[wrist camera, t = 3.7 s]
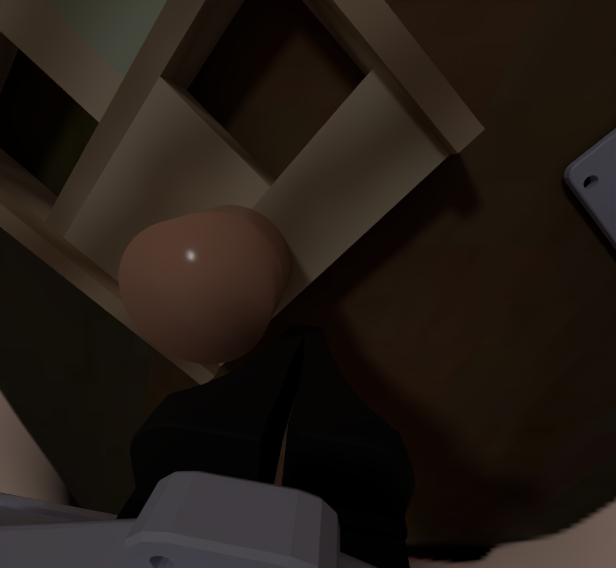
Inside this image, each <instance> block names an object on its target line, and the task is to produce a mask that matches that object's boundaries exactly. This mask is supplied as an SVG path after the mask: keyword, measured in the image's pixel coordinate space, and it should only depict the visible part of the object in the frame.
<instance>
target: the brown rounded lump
mask: <svg viewBox="0 0 616 568" xmlns="http://www.w3.org/2000/svg"><path fill="white" fill-rule="evenodd" d="M290 273H291V257H290V252H289V249H288V246H287V243H286V241H285V239H284V237H283V235H282V234H281V233H280V231H279V230H278V228H277V227H276V226H275V225H274V224H273V223H272V222H271V221H270V220H269V219H267V218H266V217H265V216H263V215H262V214H260V213H259V212H257V211H255V210H252V209H250V208H247V207H243V206H238V205H221V206H217V207H213V208H209V209H206V210H202V211H199V212H195V213H192V214H188V215H185V216H181V217H178V218H174V219H171V220H167V221H163V222H160V223H157V224H155V225H152V226H150V227H148V228H146V229H145V230H143V231H141V232H140V233H139V234H138V235H137V236H136V237H134V239H133V240H132V241H131V242H130V243H129V245H128V246H127V248H126V250H125V252H124V254H123V256H122V259H121V263H120V267H119V278H118V279H119V289H120V294H121V298H122V301H123V304H124V307H125V309H126V311H127V313H128V315H129V317H130V318H131V320H132V322H133V323H134V324H135V326H136V327H137V328H138V330H139V331H140V332H141V333H142V334H143V335H144V336H145V337H146V338H147V339H148V340H149V341H150V342H151V343H153V344H154V345H155V346H157V347H158V348H159V349H161V350H163V351H164V352H166V353H168V354H169V355H172V356H174V357H176V358H179V359H181V360H184V361H188V362H192V363H198V364H220V363H225V362H229V361H232V360H235V359H237V358H240V357H241V356H243V355H245V354H246V353H248V352H249V351H250V350H251V349H253V348H254V347H255V345H256V344H257V343H258V342H259V341H260V339H261V338H262V336H263V334H264V332H265V330H266V328H267V326H268V324H269V322H270V320H271V318H272V316H273V314H274V312H275V309H276V307H277V305H278V303H279V301H280V299H281V297H282V295H283V293H284V291H285V289H286V286H287V284H288V281H289V278H290Z"/></svg>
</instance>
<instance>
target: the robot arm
mask: <svg viewBox="0 0 616 568" xmlns="http://www.w3.org/2000/svg"><path fill="white" fill-rule="evenodd" d="M587 177H590V179H591V181H590V184H589V185H588V186H587V187H585V188H584V185H583V183H584V180H585V179H586V178H587ZM564 180H565V182H566V184H567V185H568V186H569V188H570V189H571V190H572V192H573V193H574V194H575V196H576V197H577V198H578V200H579V201H580V202H581V204H582V205H583V206H584V208H585V209H586V210H587V212H588V213H589V214H590V216H591V217H592V218H593V220H594V221H595V222H596V224H597V225H598V226H599V228H600V229H601V231H602V232H603V233H604V235H605V236H606V237H607V239H608V240H609V241H610V243H611V244H612V245H613V247H614V248H615V249H616V129H614V130H613V131H612V132H610V133H609V134H608V135H607V136H605V137H604V138H603V139H602V140H600V141H599V142H598V143H596V144H595V145H594V146H593V147H591V148H590V149H589V150H588V151H586V152H585V153H584V154H582V155H581V156H580V157H579V158H577V159H576V160H575V161H573V162H572V163H571V164H570V165H569V166H568V167H567V168H566V170H565V172H564ZM296 393H297V394H296ZM295 397H296V398H295ZM294 400H295V402H294ZM293 403H294V405H293ZM292 407H293V409H292ZM291 410H292V412H291ZM290 413H291V416H290ZM289 416H290V419H289ZM288 420H289V422H288ZM287 423H288V431H287V440H286V450H285V459H284V468H283V478H282V485H281V486H280V485H274V481H275V476H276V471H277V466H278V461H279V456H280V451H281V446H282V441H283V437H284V433H285V430H286V426H287ZM130 456H131V462H132V468H133V474H134V479H135V485H136V488H135V490H134V492H133V493H132V495H131V496H130V498H129V499H128V501H127V502H126V504H125V505H124V507H123V508H122V510H121V512H120V513H119V515H113V514H108V513H102V512H97V511H92V510H87V509H82V508H77V507H72V506H66V505H61V504H56V503H51V502H46V501H40V500H36V499H31V498H25V497H20V496H15V495H10V494H5V493H0V568H410V567H409V560H408V555H407V549H406V543H405V539H406V538H407V527H406V521H405V514H406V511H407V509H408V506H409V503H410V500H411V498H412V495H413V492H414V487H415V478H414V473H413V468H412V464H411V461H410V458H409V455H408V453H407V450H406V447H405V445H404V443H403V440H402V438H401V435H400V433H399V432H398V431H397V430H395V429H394V428H393V427H391V426H390V425H389V424H388V423H386V422H385V421H384V420H383V419H381V418H380V417H379V416H378V415H377V414H375V413H374V412H373V411H372V410H371V409H370V408H369V407H368V406H367V405H366V404H365V403H364V402H363V401H362V400H361V399H360V398H359V397H358V395H357V394H356V393H355V392H354V391H353V390H352V388H351V387H350V386H349V384H348V383H347V382H346V380H345V379H344V377H343V376H342V374H341V372H340V371H339V369H338V367H337V365H336V364H335V362H334V360H333V358H332V355H331V353H330V351H329V349H328V346H327V343H326V340H325V337H324V332H323V330H322V328H319V327H312V326H305V325H298V324H292V325H291V326H290V327H289V328H288V329H287V330H286V331H285V332H284V333H283V334H282V335H281V336H280V337H279V338H278V339H277V340H276V341H275V342H274V343H273V344H272V345H271V346H270V347H268V348H267V349H266V350H265V351H263V352H262V353H261V354H260V355H258V356H257V357H256V358H254V359H253V360H251V361H250V362H248V363H247V364H245V365H243V366H242V367H240V368H238V369H236V370H234V371H232V372H230V373H228V374H226V375H224V376H222V377H219V378H217V379H215V380H212V381H210V382H207V383H204V384H202V385H199V386H196V387H192V388H189V389H186V390H182V391H179V392H175V393H171V394H168V395H167V397H166V398H165V399H164V400H163V401H162V402H161V403H160V404H159V405H158V406H157V407H156V408H155V410H154V411H153V412H152V413H151V414H150V416H149V417H148V418H147V420H146V421H145V422H144V423H143V425H142V426H141V427H140V428H139V430H138V431H137V432H136V434H135V435H134V436H133V439H132V441H131V444H130Z"/></svg>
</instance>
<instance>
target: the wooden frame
mask: <svg viewBox="0 0 616 568" xmlns="http://www.w3.org/2000/svg"><path fill="white" fill-rule="evenodd" d="M244 1H245V0H0V94H1V91H2V89H3V86H4V84H5V82H6V79H7V77H8V74H9V72H10V69H11V67H12V64H13V62H14V59H15V57H16V54H17V52H18V49H20V50H21V51H22V52H23V53H24V54H26V55H27V56H28V57H29V58H30V59H31V60H32V61H33V62H34V63H35V64H36V65H37V66H39V67H40V68H41V69H42V70H43V71H44V72H45V73H46V74H47V75H48V76H49V77H51V78H52V79H53V80H54V81H55V82H56V83H57V84H58V85H59V86H60V87H61V88H62V89H64V90H65V91H66V92H67V93H68V94H69V95H70V96H71V97H72V98H73V99H74V100H75V101H77V102H78V103H79V104H80V105H81V106H82V107H83V108H84V109H85V110H86V111H87V112H88V113H90V114H91V115H92V116H93V117H94V118H95V119H96V120H97V121H98V122H99V124H98V126H97V128H96V130H95V132H94V133H93V135H92V137H91V139H90V141H89V142H88V144H87V146H86V148H85V150H84V151H83V153H82V155H81V157H80V159H79V160H78V162H77V164H76V166H75V168H74V170H73V171H72V173H71V175H70V177H69V179H68V180H67V182H66V184H65V186H64V188H63V189H62V191H61V193H60V195H59V197H58V196H57V195H56V194H55V193H53V192H52V191H51V190H50V189H49V188H47V187H46V186H45V185H44V184H43V183H41V182H40V181H39V180H38V179H37V178H36V177H34V176H33V175H32V174H31V173H30V172H28V171H27V170H26V169H25V168H24V167H23V166H21V165H20V164H19V163H18V162H17V161H15V160H14V159H13V158H12V157H11V156H9V155H8V154H7V153H6V152H5V151H4V150H2V149H1V148H0V227H1V228H3V229H4V230H5V231H6V232H8V233H9V234H10V235H11V236H13V237H14V238H15V239H17V240H18V241H19V242H20V243H22V244H23V245H24V246H25V247H27V248H28V249H29V250H30V251H32V252H33V253H34V254H36V255H37V256H38V257H39V258H41V259H42V260H43V261H44V262H46V263H47V264H48V265H50V266H51V267H52V268H53V269H55V270H56V271H57V272H58V273H60V274H61V275H62V276H63V277H65V278H66V279H67V280H69V281H70V282H71V283H72V284H74V285H75V286H76V287H77V288H79V289H80V290H81V291H82V292H84V293H85V294H86V295H88V296H89V297H90V298H91V299H93V300H94V301H95V302H96V303H98V304H99V305H100V306H102V307H103V308H104V309H105V310H107V311H108V312H109V313H110V314H112V315H113V316H114V317H115V318H117V319H118V320H119V321H121V322H122V323H123V324H124V325H126V326H127V327H128V328H129V329H131V330H132V331H133V332H134V333H136V334H137V335H138V336H140V337H141V338H142V339H143V340H145V341H146V342H147V343H148V344H150V345H151V346H152V347H154V348H155V349H156V350H157V351H159V352H160V353H161V354H162V355H164V356H165V357H166V358H167V359H169V360H170V361H171V362H173V363H174V364H175V365H176V366H178V367H179V368H180V369H181V370H183V371H184V372H185V373H186V374H188V375H189V376H190V377H192V378H193V379H194V380H195V381H197V382H198V383H199V384H200V385H202V384H204V383H207V382H209V381H210V380H211V379H212V378H213V377H214V376H215V375H216V373H217V371H218V370H219V368H220V367H221V365H223V364H224V363H220V364H198V363H192V362H188V361H184V360H181V359H179V358H176V357H174V356H172V355H169V354H168V353H166V352H164V351H163V350H161V349H159V348H158V347H157V346H155V345H154V344H153V343H151V342H150V341H149V340H148V339H147V338H146V337H145V336H144V335H143V334H142V333H141V332H140V331H139V330H138V328H137V327H136V326H135V324H134V323H133V322H132V320H131V318H130V317H129V315H128V313H127V311H126V309H125V307H124V304H123V301H122V298H121V294H120V289H119V279H118V278H119V267H120V263H121V259H122V256H123V254H124V252H125V250H126V248H127V246H128V245H129V243H130V242H131V241H132V240H133V239H134V237H136V236H137V235H138V234H139V233H140V232H141V231H143V230H145V229H146V228H148V227H150V226H152V225H155V224H157V223H160V222H163V221H167V220H171V219H174V218H178V217H181V216H185V215H188V214H192V213H195V212H199V211H202V210H206V209H209V208H213V207H217V206H221V205H238V206H243V207H247V208H250V209H252V210H255V211H257V212H259V213H260V214H262V215H263V216H265V217H266V218H267V219H269V220H270V221H271V222H272V223H273V224H274V225H275V226H276V227H277V228H278V230H279V231H280V233H281V234H282V235H283V237H284V239H285V241H286V243H287V246H288V249H289V252H290V257H291V273H290V278H289V281H288V284H287V286H286V289H285V291H284V293H283V295H282V297H281V299H280V301H279V303H278V305H277V307H276V309H275V312H274V314H273V316H272V318H273V317H275V316H276V315H277V314H278V313H279V312H280V311H281V310H282V309H283V308H284V307H285V306H286V305H288V304H289V303H290V302H291V301H292V300H293V299H294V298H295V297H296V296H297V295H298V294H299V293H301V292H302V291H303V290H304V289H305V288H306V287H307V286H308V285H309V284H310V283H311V282H312V281H314V280H315V279H316V278H317V277H318V276H319V275H320V274H321V273H322V272H323V271H324V270H325V269H327V268H328V267H329V266H330V265H331V264H332V263H333V262H334V261H335V260H336V259H337V258H338V257H340V256H341V255H342V254H343V253H344V252H345V251H346V250H347V249H348V248H349V247H350V246H351V245H353V244H354V243H355V242H356V241H357V240H358V239H359V238H360V237H361V236H362V235H363V234H364V233H366V232H367V231H368V230H369V229H370V228H371V227H372V226H373V225H374V224H375V223H376V222H377V221H379V220H380V219H381V218H382V217H383V216H384V215H385V214H386V213H387V212H388V211H389V210H390V209H392V208H393V207H394V206H395V205H396V204H397V203H398V202H399V201H400V200H401V199H402V198H403V197H405V196H406V195H407V194H408V193H409V192H410V191H411V190H412V189H413V188H414V187H415V186H416V185H418V184H419V183H420V182H421V181H422V180H423V179H424V178H425V177H426V176H427V175H428V174H429V173H431V172H432V171H433V170H434V169H435V168H436V167H437V166H438V165H439V164H440V163H441V162H442V161H444V160H445V159H446V158H447V157H448V156H449V155H450V154H457V153H459V152H460V151H461V150H462V149H463V148H465V147H466V146H467V145H468V144H469V143H470V142H471V141H472V140H473V139H474V138H475V137H477V136H478V135H479V134H480V133H481V132H482V131H483V130H484V128H483V126H482V125H481V124H480V123H479V121H478V120H477V119H476V117H475V116H474V115H473V114H472V112H471V111H470V110H469V108H468V107H467V106H466V105H465V103H464V102H463V101H462V99H461V98H460V97H459V96H458V94H457V93H456V92H455V90H454V89H453V88H452V87H451V85H450V84H449V83H448V81H447V80H446V79H445V78H444V76H443V75H442V74H441V72H440V71H439V70H438V69H437V67H436V66H435V65H434V64H433V62H432V61H431V60H430V58H429V57H428V56H427V55H426V53H425V52H424V51H423V49H422V48H421V47H420V46H419V44H418V43H417V42H416V40H415V39H414V38H413V37H412V35H411V34H410V33H409V31H408V30H407V29H406V28H405V26H404V25H403V24H402V22H401V21H400V20H399V19H398V17H397V16H396V15H395V13H394V12H393V11H392V10H391V8H390V7H389V6H388V4H387V3H386V2H385V1H384V0H302V1H303V2H304V3H305V4H306V5H307V7H308V8H309V9H310V10H311V11H312V13H313V14H314V15H315V16H316V17H317V19H318V20H319V21H320V22H321V23H322V24H323V26H324V27H325V28H326V29H327V30H328V32H329V33H330V34H331V35H332V36H333V38H334V39H335V40H336V41H337V42H338V44H339V45H340V46H341V47H342V48H343V50H344V51H345V52H346V53H347V54H348V55H349V57H350V58H351V59H352V60H353V61H354V63H355V64H356V65H357V66H358V67H359V69H360V70H361V71H362V72H363V73H364V75H365V76H366V77H365V78H364V79H363V81H362V82H361V83H360V84H359V85H358V86H357V88H356V89H355V90H354V91H353V92H352V93H351V94H350V96H349V97H348V98H347V99H346V100H345V101H344V103H343V104H342V105H341V106H340V107H339V108H338V109H337V111H336V112H335V113H334V114H333V115H332V116H331V118H330V119H329V120H328V121H327V122H326V123H325V125H324V126H323V127H322V128H321V129H320V130H319V131H318V133H317V134H316V135H315V136H314V137H313V138H312V140H311V141H310V142H309V143H308V144H307V145H306V146H305V148H304V149H303V150H302V151H301V152H300V153H299V155H298V156H297V157H296V158H295V159H294V160H293V161H292V163H291V164H290V165H289V166H288V167H287V168H286V170H285V171H284V172H283V173H282V174H281V175H280V177H279V178H278V179H277V180H275V179H274V178H273V177H272V176H271V175H270V174H269V173H268V172H267V171H266V170H265V169H264V168H263V167H262V166H261V165H260V164H259V163H258V162H257V161H256V160H255V159H254V158H253V157H252V156H251V155H250V154H249V153H248V152H247V151H246V150H245V149H244V148H243V147H242V146H241V145H240V144H239V143H238V142H237V141H236V140H235V139H234V138H233V137H232V136H231V135H230V134H229V133H228V132H227V131H226V130H225V129H224V128H223V127H222V126H221V125H220V124H219V123H218V122H217V121H216V120H215V119H214V118H213V116H212V115H211V114H210V113H209V112H208V111H207V110H206V109H205V108H204V107H203V106H202V105H201V104H200V103H199V102H198V101H197V100H196V99H195V98H194V97H193V96H192V95H191V94H190V93H189V92H188V91H187V89H188V88H189V86H190V85H191V83H192V82H193V80H194V78H195V77H196V75H197V74H198V72H199V71H200V69H201V68H202V66H203V64H204V63H205V61H206V60H207V58H208V57H209V55H210V54H211V52H212V51H213V49H214V47H215V46H216V44H217V43H218V41H219V40H220V38H221V37H222V35H223V33H224V32H225V30H226V29H227V27H228V26H229V24H230V23H231V21H232V20H233V18H234V16H235V15H236V13H237V12H238V10H239V9H240V7H241V6H242V4H243V2H244ZM272 318H271V319H272Z"/></svg>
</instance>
